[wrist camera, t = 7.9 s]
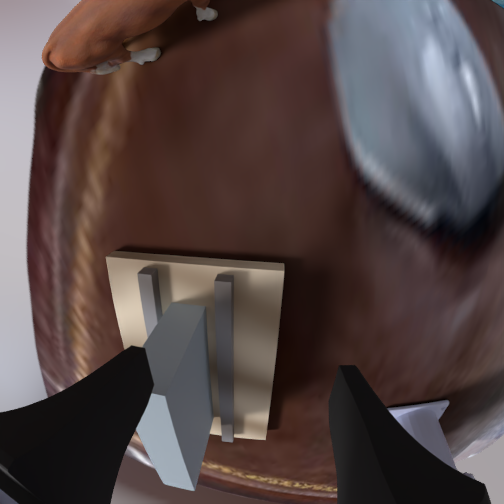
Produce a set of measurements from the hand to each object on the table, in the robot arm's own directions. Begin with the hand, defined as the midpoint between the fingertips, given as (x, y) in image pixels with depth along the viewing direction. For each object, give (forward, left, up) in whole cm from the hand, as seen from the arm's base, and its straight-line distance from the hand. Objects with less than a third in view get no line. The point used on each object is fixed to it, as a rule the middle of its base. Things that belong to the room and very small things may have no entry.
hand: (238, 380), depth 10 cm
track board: (-8, +4, -9) cm, 13 cm away
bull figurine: (+17, +5, -10) cm, 20 cm away
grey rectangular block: (-8, +4, -8) cm, 12 cm away
